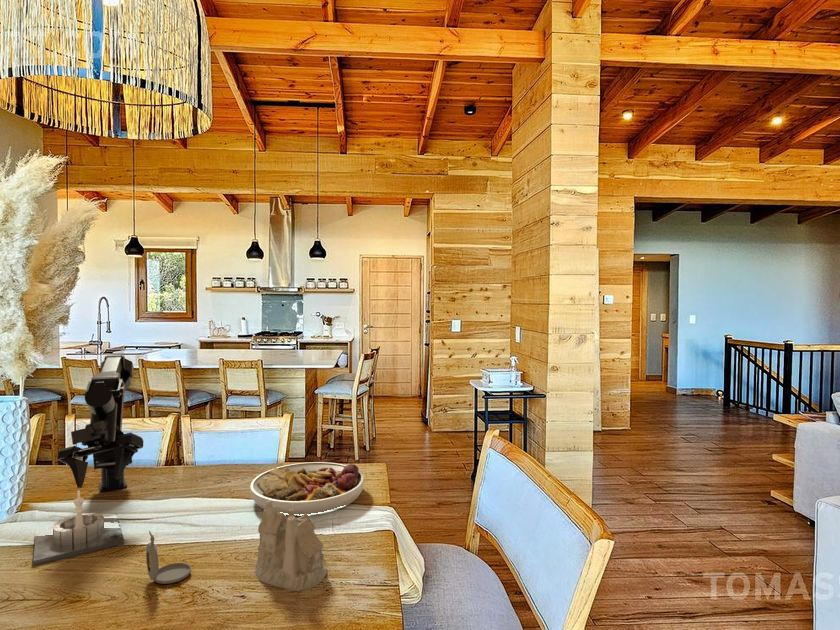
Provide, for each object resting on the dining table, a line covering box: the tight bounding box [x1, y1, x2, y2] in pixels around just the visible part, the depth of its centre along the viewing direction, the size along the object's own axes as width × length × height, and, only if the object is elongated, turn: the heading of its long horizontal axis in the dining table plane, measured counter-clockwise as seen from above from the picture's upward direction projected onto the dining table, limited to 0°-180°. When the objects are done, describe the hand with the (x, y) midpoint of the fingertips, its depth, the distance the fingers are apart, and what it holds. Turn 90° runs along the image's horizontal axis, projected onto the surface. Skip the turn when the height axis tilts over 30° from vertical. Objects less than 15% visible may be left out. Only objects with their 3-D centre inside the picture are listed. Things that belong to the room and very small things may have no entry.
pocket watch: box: [145, 530, 192, 585], centre depth 100 cm, size 8×8×10 cm
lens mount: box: [32, 512, 125, 566], centre depth 116 cm, size 16×16×4 cm
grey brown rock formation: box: [254, 500, 328, 592], centre depth 105 cm, size 16×16×15 cm
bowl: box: [249, 461, 365, 515], centre depth 141 cm, size 30×30×8 cm
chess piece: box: [72, 490, 86, 529], centre depth 116 cm, size 5×5×10 cm
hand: (98, 483), depth 125 cm, fingers open, 9 cm apart
